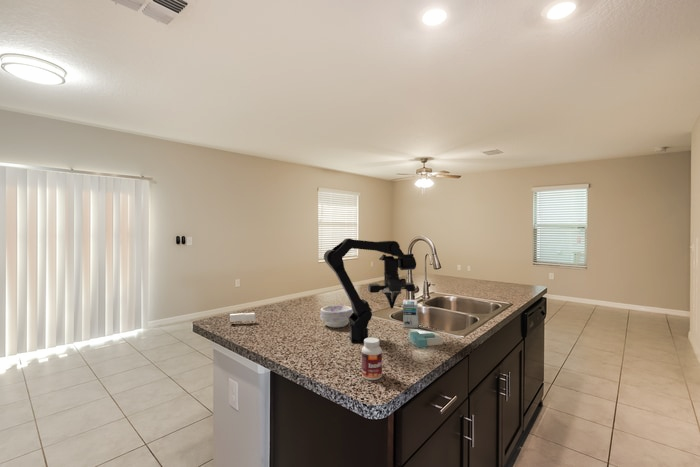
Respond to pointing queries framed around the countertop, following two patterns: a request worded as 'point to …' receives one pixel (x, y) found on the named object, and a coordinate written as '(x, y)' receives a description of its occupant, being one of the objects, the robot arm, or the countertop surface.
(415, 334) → the t block
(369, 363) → the pill bottle
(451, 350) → the countertop surface
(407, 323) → the light bulb box
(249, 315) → the napkin holder
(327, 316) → the paper bowls
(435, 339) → the t dock
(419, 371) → the countertop surface
